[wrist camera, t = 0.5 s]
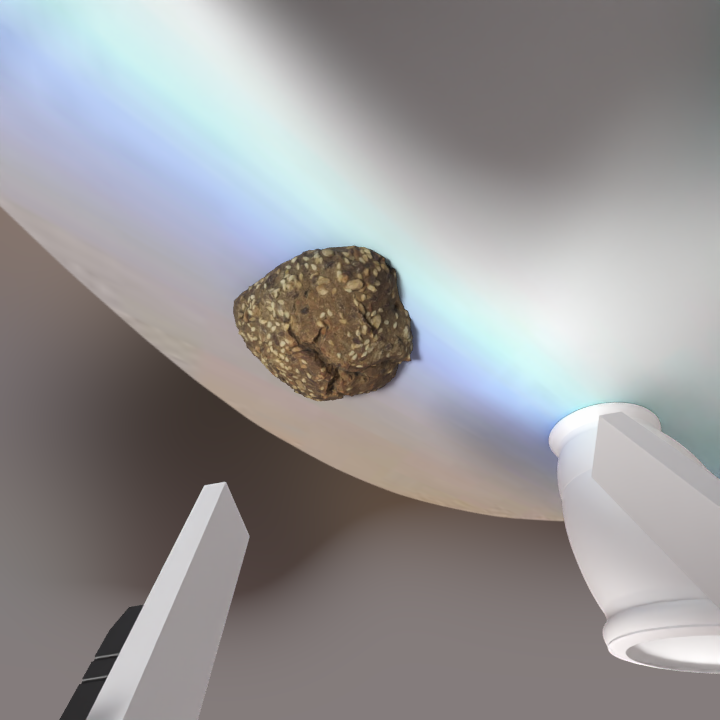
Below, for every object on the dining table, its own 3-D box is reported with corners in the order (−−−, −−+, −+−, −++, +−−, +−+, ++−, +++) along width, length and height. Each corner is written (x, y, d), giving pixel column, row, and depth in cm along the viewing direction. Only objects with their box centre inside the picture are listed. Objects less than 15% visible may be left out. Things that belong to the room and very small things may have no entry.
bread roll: (218, 283, 24) (183, 322, 21) (375, 217, 20) (368, 250, 16) (305, 399, 31) (291, 444, 28) (435, 368, 27) (439, 415, 23)
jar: (696, 434, 28) (888, 675, 17) (576, 477, 34) (660, 678, 23) (631, 369, 25) (818, 619, 13) (510, 430, 31) (570, 641, 19)
